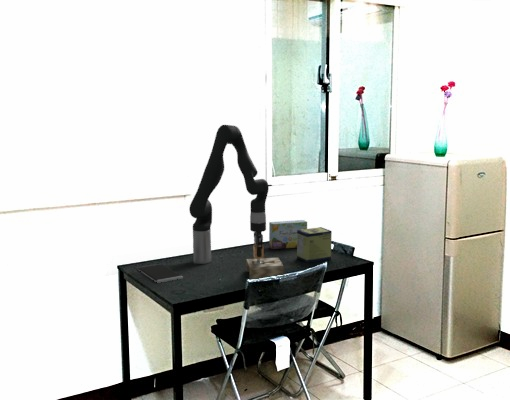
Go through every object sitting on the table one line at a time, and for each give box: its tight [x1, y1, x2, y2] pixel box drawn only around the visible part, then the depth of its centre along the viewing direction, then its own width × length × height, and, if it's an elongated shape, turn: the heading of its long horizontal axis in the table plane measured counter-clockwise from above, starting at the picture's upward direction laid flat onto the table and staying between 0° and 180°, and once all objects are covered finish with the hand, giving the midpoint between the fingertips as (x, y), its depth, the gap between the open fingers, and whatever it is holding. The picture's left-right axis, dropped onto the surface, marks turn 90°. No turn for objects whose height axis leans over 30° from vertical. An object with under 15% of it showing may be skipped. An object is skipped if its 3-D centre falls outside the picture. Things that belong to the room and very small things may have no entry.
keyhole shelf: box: [245, 257, 284, 280], centre depth 285 cm, size 16×14×6 cm
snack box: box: [268, 219, 308, 250], centre depth 335 cm, size 21×6×15 cm, turn 105°
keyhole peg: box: [252, 244, 265, 265], centre depth 283 cm, size 4×4×9 cm
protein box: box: [296, 226, 333, 264], centre depth 310 cm, size 10×16×16 cm
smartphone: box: [137, 263, 184, 284], centre depth 288 cm, size 13×27×2 cm, turn 31°
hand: (258, 255), depth 283 cm, fingers closed on keyhole peg, 4 cm apart
